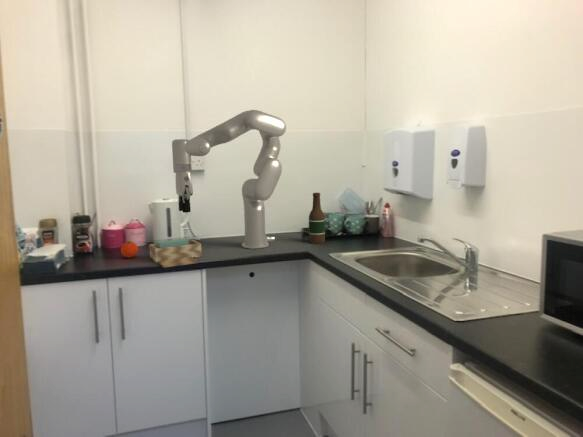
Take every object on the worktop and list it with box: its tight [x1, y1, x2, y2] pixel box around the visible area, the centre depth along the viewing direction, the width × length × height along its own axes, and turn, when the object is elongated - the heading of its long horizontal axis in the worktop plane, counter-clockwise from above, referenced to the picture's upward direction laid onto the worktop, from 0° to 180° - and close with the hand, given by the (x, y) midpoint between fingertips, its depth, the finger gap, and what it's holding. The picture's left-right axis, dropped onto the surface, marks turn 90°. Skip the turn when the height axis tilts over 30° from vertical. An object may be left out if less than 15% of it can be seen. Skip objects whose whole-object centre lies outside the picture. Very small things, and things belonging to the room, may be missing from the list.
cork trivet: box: [157, 257, 199, 268], centre depth 189 cm, size 14×9×1 cm, turn 119°
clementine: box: [120, 241, 139, 259], centre depth 200 cm, size 8×7×7 cm
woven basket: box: [148, 239, 203, 263], centre depth 200 cm, size 19×12×6 cm, turn 119°
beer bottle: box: [308, 192, 326, 245], centre depth 224 cm, size 8×8×24 cm
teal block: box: [157, 238, 189, 248], centre depth 199 cm, size 12×4×3 cm, turn 119°
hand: (184, 211), depth 199 cm, fingers open, 5 cm apart
